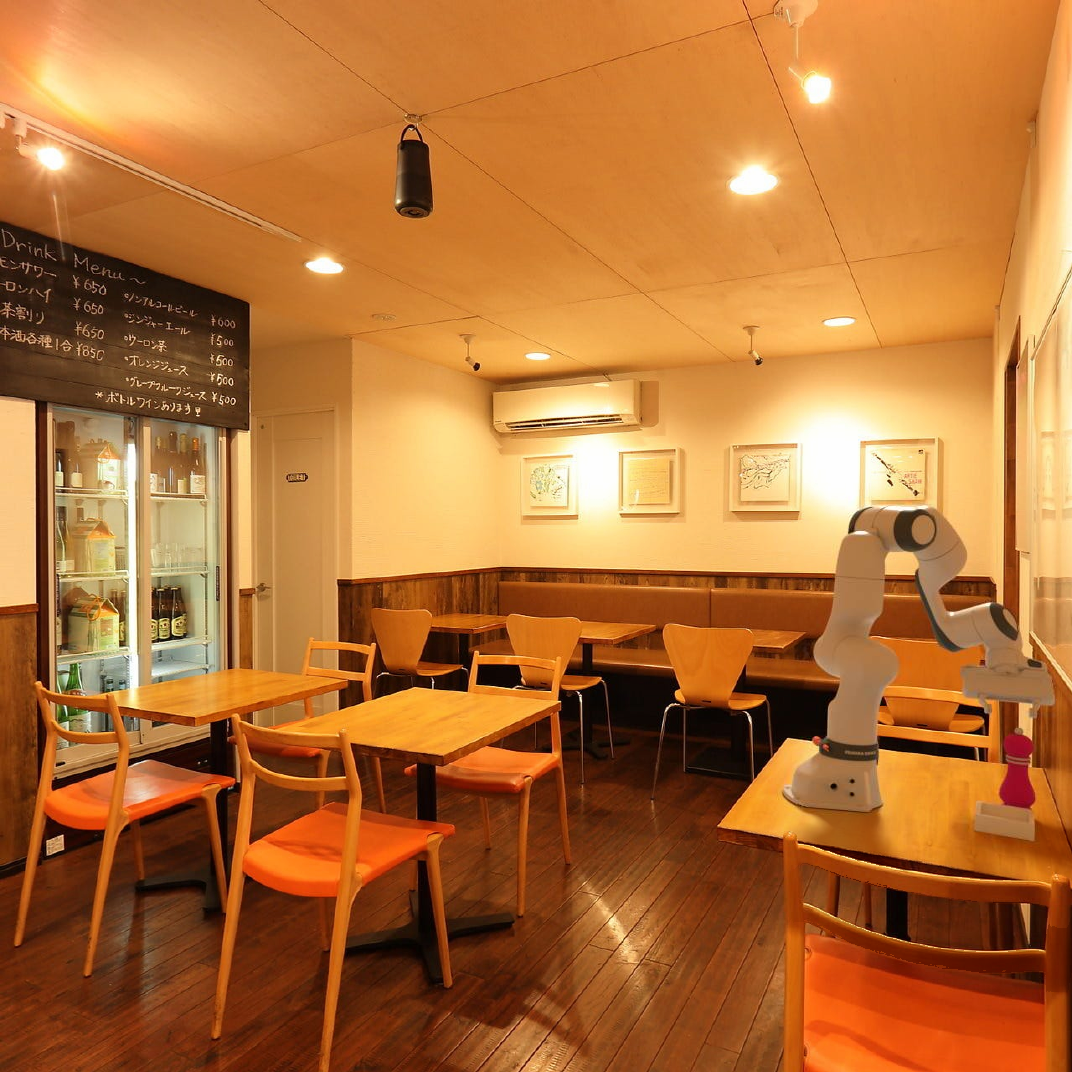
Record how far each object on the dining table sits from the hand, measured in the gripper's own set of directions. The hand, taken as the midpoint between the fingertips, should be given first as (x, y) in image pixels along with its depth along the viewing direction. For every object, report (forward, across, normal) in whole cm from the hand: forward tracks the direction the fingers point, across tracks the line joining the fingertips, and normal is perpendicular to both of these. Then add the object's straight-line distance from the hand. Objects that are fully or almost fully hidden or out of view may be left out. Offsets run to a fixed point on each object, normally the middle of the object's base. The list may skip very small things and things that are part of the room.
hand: (1010, 714), depth 197 cm
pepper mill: (+23, 0, +7) cm, 24 cm away
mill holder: (+31, -4, -2) cm, 31 cm away
